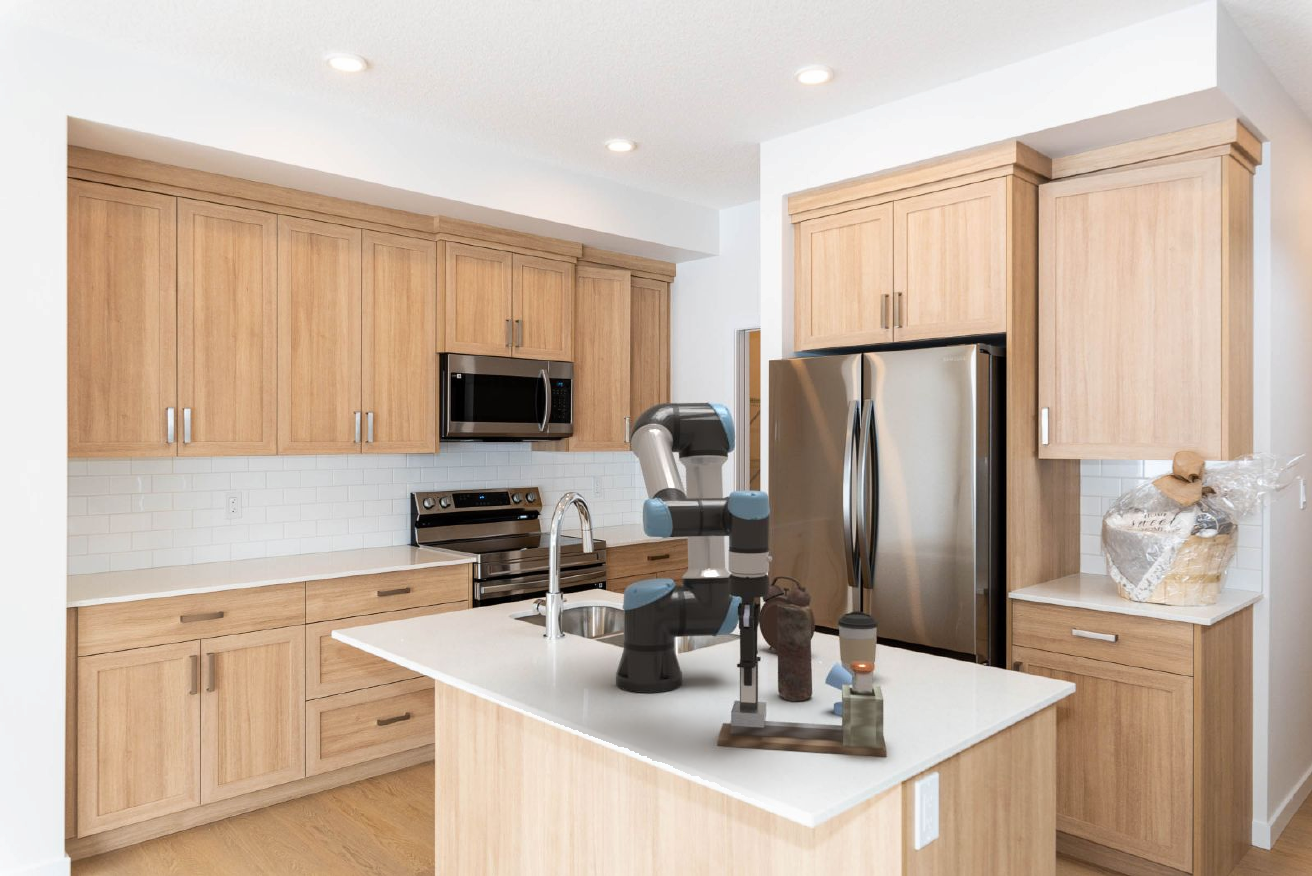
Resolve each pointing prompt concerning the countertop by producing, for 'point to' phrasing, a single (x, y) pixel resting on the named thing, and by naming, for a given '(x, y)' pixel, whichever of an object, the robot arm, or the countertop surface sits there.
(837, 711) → the spotlight
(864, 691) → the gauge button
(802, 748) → the rail
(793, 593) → the alarm clock
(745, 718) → the carriage
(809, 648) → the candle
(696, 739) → the countertop surface
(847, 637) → the coffee cup
